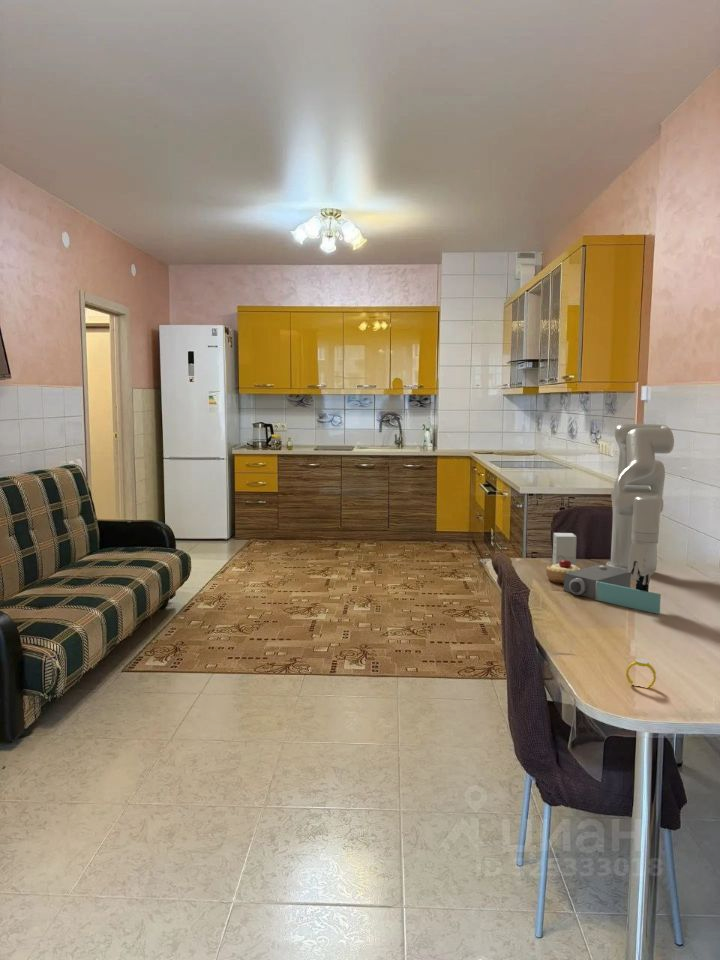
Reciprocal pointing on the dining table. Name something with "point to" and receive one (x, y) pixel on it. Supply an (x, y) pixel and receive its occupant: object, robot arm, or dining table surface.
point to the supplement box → (564, 547)
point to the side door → (628, 597)
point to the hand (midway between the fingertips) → (641, 596)
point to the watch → (641, 663)
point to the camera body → (594, 579)
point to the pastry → (559, 570)
